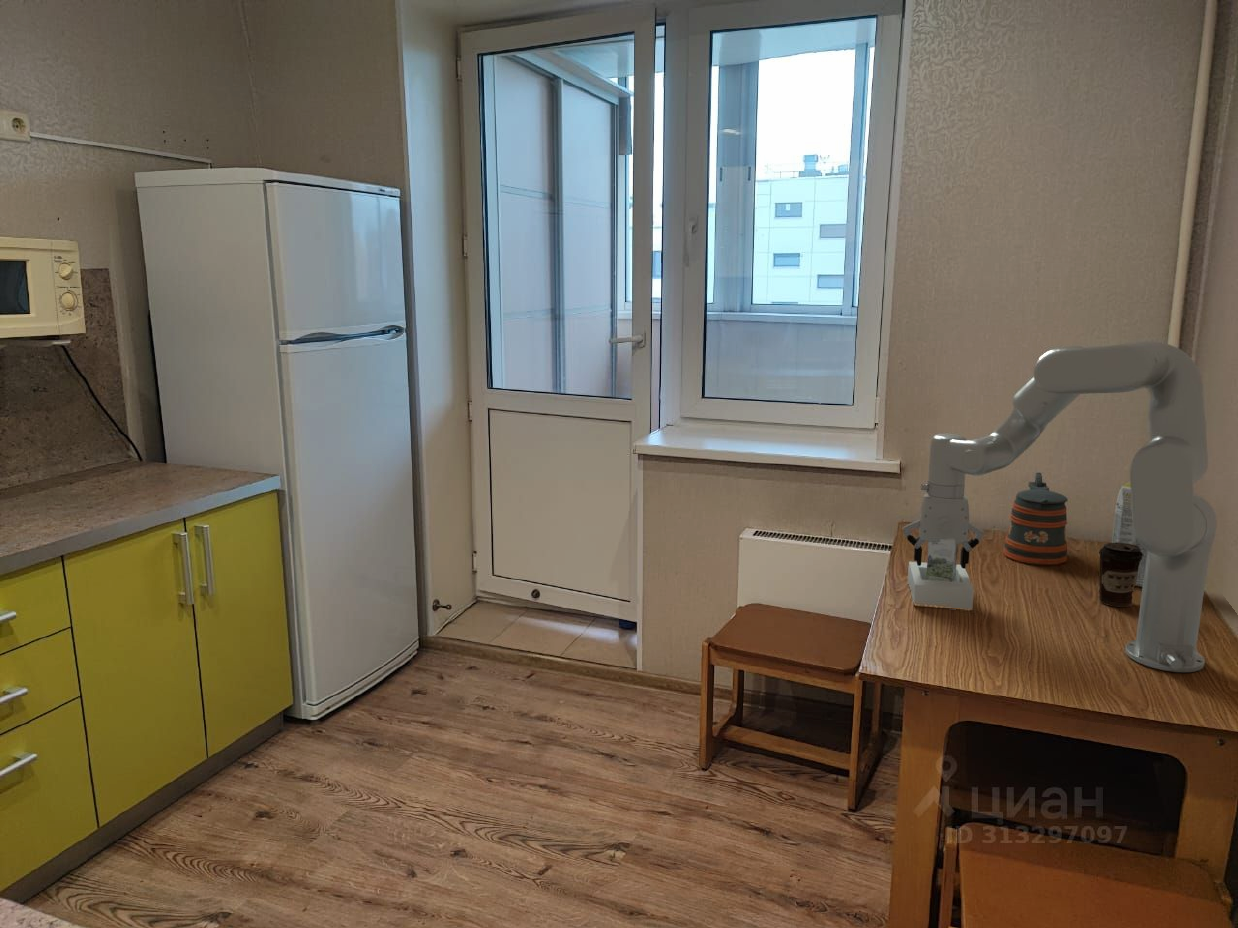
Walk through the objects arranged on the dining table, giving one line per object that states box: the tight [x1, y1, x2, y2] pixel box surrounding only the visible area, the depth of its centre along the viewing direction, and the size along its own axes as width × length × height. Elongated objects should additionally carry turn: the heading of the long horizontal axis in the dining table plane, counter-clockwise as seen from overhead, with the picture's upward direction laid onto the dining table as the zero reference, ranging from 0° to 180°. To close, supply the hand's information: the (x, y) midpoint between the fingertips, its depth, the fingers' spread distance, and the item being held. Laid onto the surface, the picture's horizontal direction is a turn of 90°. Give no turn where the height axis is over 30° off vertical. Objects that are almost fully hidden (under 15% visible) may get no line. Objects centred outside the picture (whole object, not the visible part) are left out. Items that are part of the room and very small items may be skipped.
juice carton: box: [1111, 481, 1148, 587], centre depth 201 cm, size 9×8×24 cm
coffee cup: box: [1098, 542, 1143, 608], centre depth 189 cm, size 9×8×13 cm
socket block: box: [907, 561, 975, 610], centre depth 195 cm, size 16×12×6 cm
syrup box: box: [926, 539, 959, 582], centre depth 194 cm, size 6×6×14 cm
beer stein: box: [1002, 472, 1069, 566], centre depth 222 cm, size 19×15×20 cm
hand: (940, 565), depth 194 cm, fingers open, 9 cm apart
